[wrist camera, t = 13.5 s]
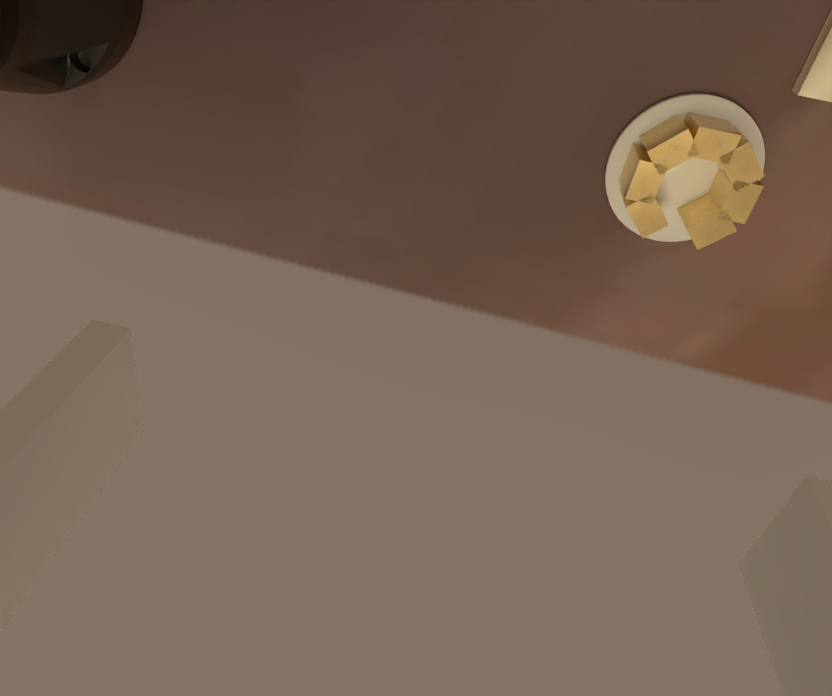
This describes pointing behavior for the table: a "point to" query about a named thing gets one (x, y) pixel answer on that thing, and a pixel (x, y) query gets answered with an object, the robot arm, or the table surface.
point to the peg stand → (818, 67)
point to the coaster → (686, 177)
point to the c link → (673, 147)
